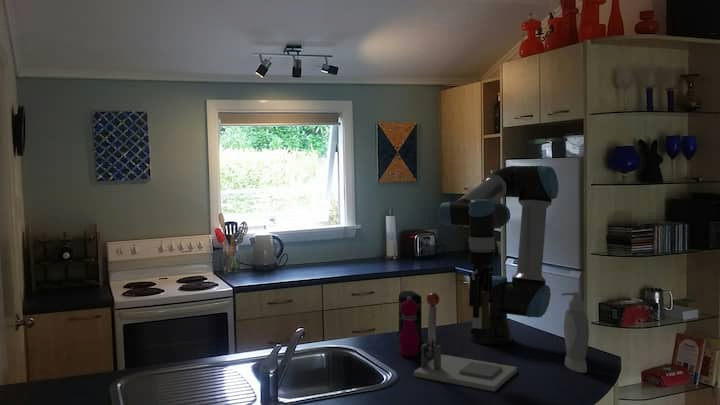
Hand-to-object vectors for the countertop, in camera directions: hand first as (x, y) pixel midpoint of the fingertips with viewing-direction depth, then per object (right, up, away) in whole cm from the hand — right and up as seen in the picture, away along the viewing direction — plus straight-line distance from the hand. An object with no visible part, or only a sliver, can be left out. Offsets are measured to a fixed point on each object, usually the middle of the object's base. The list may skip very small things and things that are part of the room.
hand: (481, 325), depth 198 cm
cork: (0, -1, 0) cm, 1 cm away
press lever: (-15, -11, +5) cm, 19 cm away
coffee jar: (-19, -14, +39) cm, 45 cm away
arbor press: (-5, -16, +4) cm, 17 cm away
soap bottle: (+30, -16, +8) cm, 35 cm away
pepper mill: (-20, -15, +26) cm, 36 cm away
